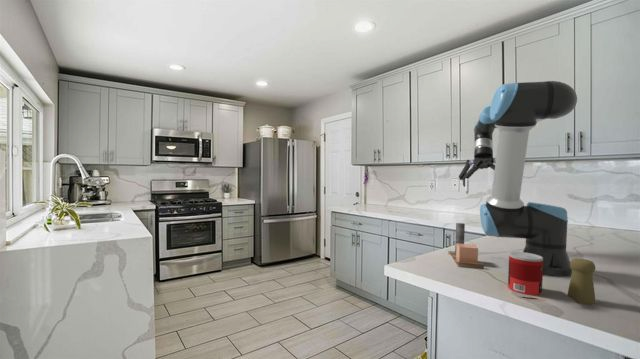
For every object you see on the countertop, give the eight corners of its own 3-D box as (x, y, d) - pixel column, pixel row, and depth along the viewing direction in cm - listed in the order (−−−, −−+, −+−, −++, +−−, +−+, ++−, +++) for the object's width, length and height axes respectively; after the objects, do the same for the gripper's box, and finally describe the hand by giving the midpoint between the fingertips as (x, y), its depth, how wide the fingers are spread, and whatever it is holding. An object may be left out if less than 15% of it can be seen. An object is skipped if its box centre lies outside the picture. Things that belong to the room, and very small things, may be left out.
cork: (560, 295, 86) (562, 256, 86) (581, 295, 87) (582, 256, 86) (581, 305, 80) (582, 263, 80) (602, 304, 81) (604, 262, 80)
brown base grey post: (448, 253, 128) (449, 222, 128) (469, 255, 126) (469, 223, 126) (458, 270, 107) (459, 232, 107) (483, 272, 105) (484, 233, 105)
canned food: (547, 301, 82) (549, 260, 82) (514, 298, 84) (515, 258, 84) (533, 290, 90) (535, 252, 89) (503, 287, 91) (504, 250, 91)
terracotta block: (456, 259, 116) (456, 243, 116) (473, 260, 115) (473, 244, 115) (459, 263, 111) (459, 247, 110) (477, 265, 109) (477, 248, 109)
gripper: (516, 150, 137) (519, 193, 128) (457, 158, 152) (455, 197, 143) (513, 140, 132) (516, 184, 123) (452, 150, 147) (450, 189, 138)
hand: (483, 191), depth 133 cm, fingers open, 13 cm apart
